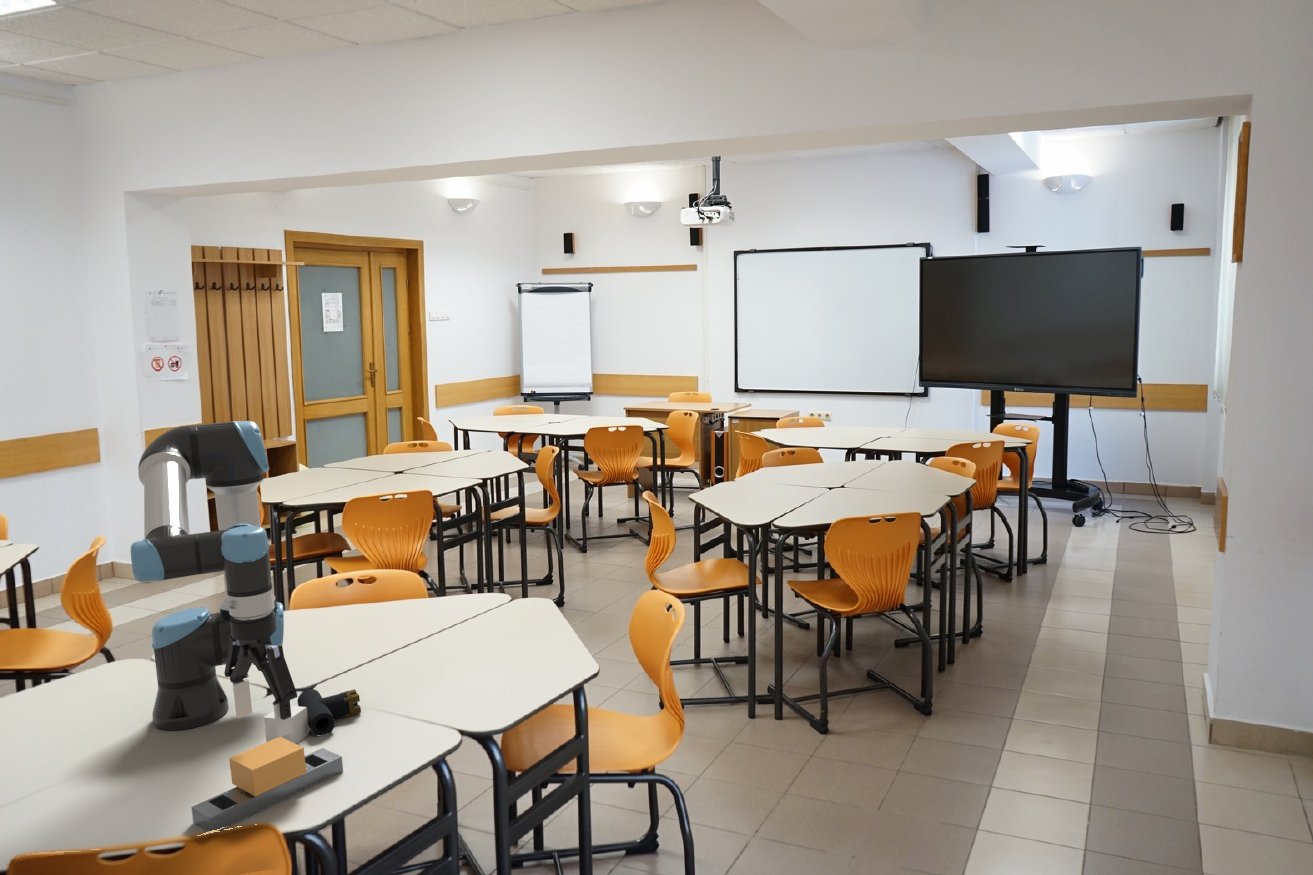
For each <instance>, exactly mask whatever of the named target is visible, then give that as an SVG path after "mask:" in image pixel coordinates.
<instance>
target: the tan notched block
mask: <svg viewBox="0 0 1313 875" xmlns="http://www.w3.org/2000/svg"><path fill="white" fill-rule="evenodd" d="M305 756H306V755H305V748H304V747H303V746H301V745H299V744H297V743H296V744H295V743H293V742H290V741H288V740H286V739H284V738H282V737H280V738H276V739H273V740H271V741H268V742H266V741H265V742H263V743H262V744H259V745H256V746H254V747H252V748H250V749H248V750H245V751H243V752H240V753H238V754H235V755H233V756H231V757H229V759H228V760H229V767H230V776H231V784H232V785H233V786H235V787H239V788H241V789H243V790H244V791H246V792H248V793H250V794H252V795H254V796H258V795H260V794H262V793H264V792H266V791H269V790H271V789H273V788H275V787H277V786H279V785H281V784H284V783H286V782H288V781H290V780H292V779H294V778H296V777H299V776H301V775H303V774H305V773H306V765H305Z"/></svg>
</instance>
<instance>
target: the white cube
mask: <svg viewBox="0 0 1313 875" xmlns="http://www.w3.org/2000/svg"><path fill="white" fill-rule="evenodd" d="M290 707H291V718H292V728H293V732H291V733H289V734H287V735H284V736H282V738H284V739H286V740H288V741H290V742H293V743H295V744H297V743H298V741H299V742H300V741H301V740H303V739H304V738H305V737H307V736H308V735H309V734H310V727H309V725H308V716H307V707H299V706H298V705H297V706H296V705H290ZM263 722H264V723H263V724H264V731H265V743H266V742H268V741H271V740H273V739H276V738H278V737H277V735H276V725H275V716H274V710H272V711H271V712H269V713H268V714H267V715H265V716H263ZM306 735H307V736H306Z"/></svg>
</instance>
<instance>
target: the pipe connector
mask: <svg viewBox="0 0 1313 875" xmlns="http://www.w3.org/2000/svg"><path fill="white" fill-rule="evenodd" d="M359 702H361V699H360V695H359V693H357V690H356V689H351V690H346V691H343V692H340V693H338V694H333V695H329V696H326V697H322V695H321V694H320V692H319V691H318V690H316V689H314V688H309V689H305V690H304V691H302V692H300V693H299V695H298V696H297V706H299V707H307V716H308V727H309V730H310V731H311V733H312V734H313V735H314V736H317V735H321V736H324V735H325V736H326V735H327V734H328V733H329V734H330V733H332V731H334V729H335V726H336V719H340V717H341V718H344V717H350V716H354V715H357V714H362V708H361V705H360V704H358V703H359ZM317 737H318V736H317Z"/></svg>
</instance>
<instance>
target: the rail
mask: <svg viewBox="0 0 1313 875" xmlns="http://www.w3.org/2000/svg"><path fill="white" fill-rule="evenodd" d="M305 765H306V773H305V774H303V775H301V776H299V777H296V778H294V779H292V780H290V781H288V782H286V783H284V784H281V785H279V786H277V787H275V788H273V789H271V790H269V791H266V792H264V793H262V794H260V795H258V796H254V795H252V794H250V793H248V792H246V791H244V790H243V789H241V788H239V787H237V786H235V787H233V788H230V789H229V790H226V791H224V792H221V793H220V794H217V795H216V796H213V797H211V798H208V799H206V800H204V801H201V802H200V803H197V804H195V805H193V806H191V814H192V823H193V824H195V825H196V826H197V827H199V828H201V829H202V830H204V831H205V832H207V831H212V830H217V829H220V828H222V827H226V826H228V827H230V826H232V825H234V824H237V823H238V822H240V821H242V820H245V819H246V818H249V817H251V816H253V815H255V814H257V813H259V812H262V811H263V810H266V809H268V808H269V807H272V806H274V805H276V804H278V803H280V802H282V801H285V800H286V799H289V798H290V797H292V796H295V795H296V794H299V793H301V792H303V791H305V790H307V789H309V788H312V787H314V786H315V785H318V784H320V783H322V782H324V781H326V780H328V779H330V778H331V777H335V776H336V775H338V774H340V772H341V773H342V771H343V772H344V768H343V767H344V766H343V756H342V755H340V754H336V753H334V752H332V751H330V750H328V749H326V748H324V747H322V748H320V749H318V750H315V751H313V752H311V753H309V754H306V755H305ZM323 780H324V781H323ZM313 785H314V786H313ZM226 828H227V827H226Z"/></svg>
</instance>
